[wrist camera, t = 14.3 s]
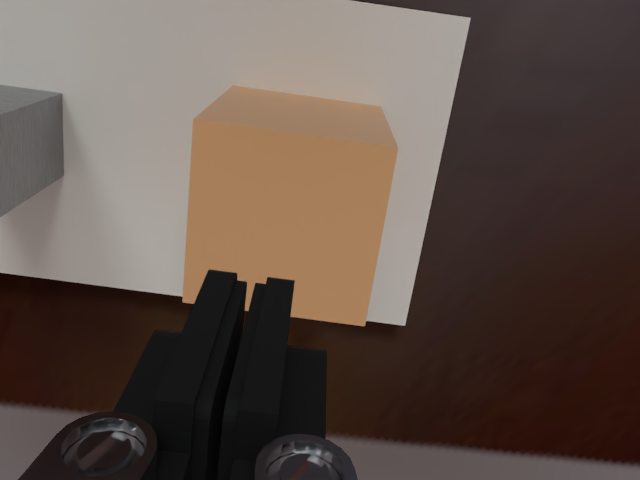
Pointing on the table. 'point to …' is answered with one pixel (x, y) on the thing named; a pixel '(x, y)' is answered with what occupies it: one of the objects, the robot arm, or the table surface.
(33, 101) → the post
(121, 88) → the board
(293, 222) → the block
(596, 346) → the table surface
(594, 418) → the table surface
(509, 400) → the table surface
